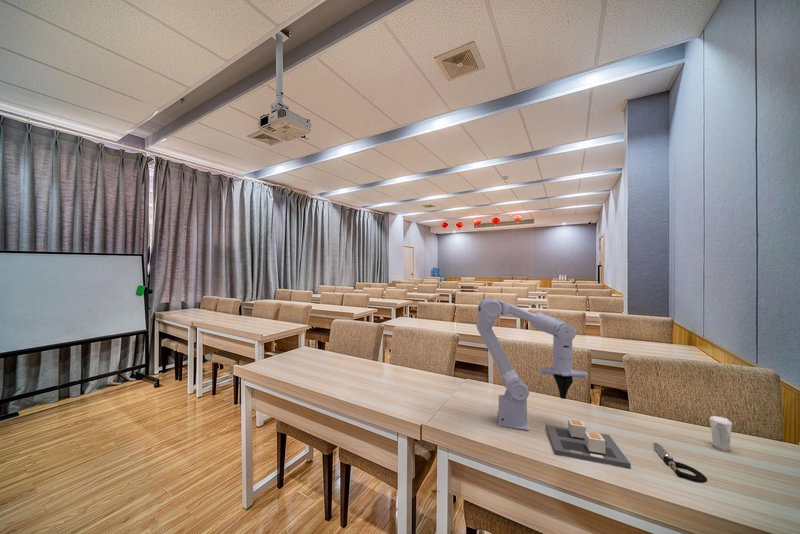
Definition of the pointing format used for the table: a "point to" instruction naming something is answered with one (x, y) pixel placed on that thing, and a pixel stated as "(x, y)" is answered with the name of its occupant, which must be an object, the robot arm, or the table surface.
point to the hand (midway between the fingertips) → (562, 397)
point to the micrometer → (671, 462)
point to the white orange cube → (595, 442)
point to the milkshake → (720, 432)
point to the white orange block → (576, 428)
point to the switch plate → (585, 448)
